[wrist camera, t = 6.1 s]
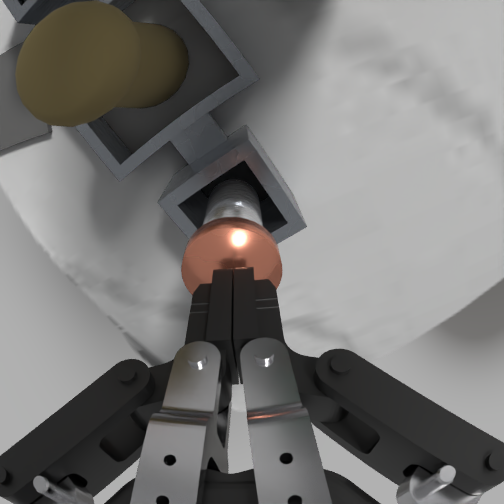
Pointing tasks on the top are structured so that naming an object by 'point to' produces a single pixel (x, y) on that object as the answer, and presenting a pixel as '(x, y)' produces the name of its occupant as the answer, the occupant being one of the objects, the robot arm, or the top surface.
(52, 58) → the cork
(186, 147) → the housing
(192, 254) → the plunger
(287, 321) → the top surface
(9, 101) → the pad
